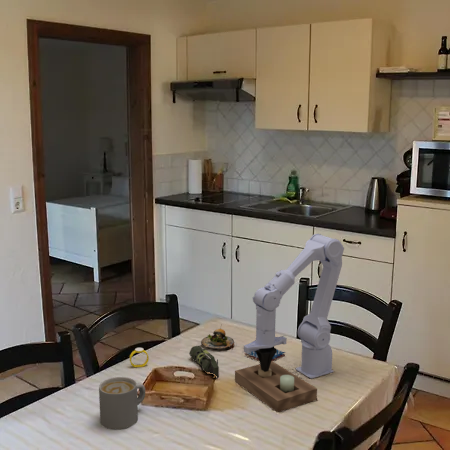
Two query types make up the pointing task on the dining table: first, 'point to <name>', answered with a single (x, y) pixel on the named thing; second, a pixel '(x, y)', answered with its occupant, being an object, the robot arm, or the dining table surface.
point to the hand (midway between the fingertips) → (264, 370)
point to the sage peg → (287, 383)
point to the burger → (218, 340)
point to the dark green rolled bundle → (205, 360)
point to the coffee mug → (119, 402)
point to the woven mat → (254, 356)
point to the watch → (139, 350)
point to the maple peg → (264, 373)
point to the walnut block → (275, 387)
